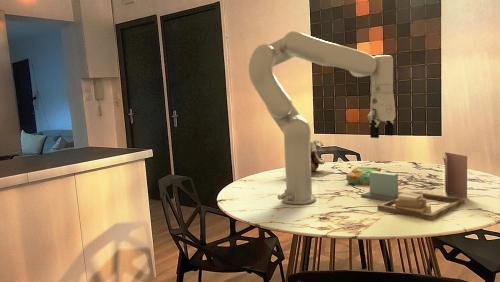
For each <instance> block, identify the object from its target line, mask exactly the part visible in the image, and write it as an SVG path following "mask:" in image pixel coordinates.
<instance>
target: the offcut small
mask: <svg viewBox="0 0 500 282" xmlns="http://www.w3.org/2000/svg"><path fill="white" fill-rule="evenodd" d="M403 192H404V191H403ZM422 199H423V195H422V194H416V193H410V192H407V191H405V192H404V193H402V194H400V195H398V200H402V201H408V202H415V203H416V202H418V201H420V200H422Z"/></svg>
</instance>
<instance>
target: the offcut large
mask: <svg viewBox="0 0 500 282" xmlns="http://www.w3.org/2000/svg"><path fill="white" fill-rule="evenodd" d="M390 207H395V208H400V209H406V210H411V211H416V212H422V213H427V214H430V212H431V213H432V209H431V208H432V205H428V204H426V205H425V206H424V207H423V208H422V209H413V208H405V207H397V206H395V204H394V205H391V206H390Z"/></svg>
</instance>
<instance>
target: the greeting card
mask: <svg viewBox="0 0 500 282" xmlns="http://www.w3.org/2000/svg"><path fill="white" fill-rule="evenodd" d="M442 159H443V163H444V193H445V196H447V197H448V193H449V194H450V193H451V194H454V195H457V196H458V197H459V196H460V197H463V198H466V199H468V155H463V154H456V153H452V152H446V151H445V152H444V157H442Z"/></svg>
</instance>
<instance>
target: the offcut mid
mask: <svg viewBox="0 0 500 282" xmlns="http://www.w3.org/2000/svg"><path fill="white" fill-rule="evenodd" d="M425 205H427V198H423V199H422V200H420V201H418V202H416V203H415V202H408V201H402V200H398V199H397V200H395V206H397V207H405V208H413V209H422V208H423V207H424V206H425Z"/></svg>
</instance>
